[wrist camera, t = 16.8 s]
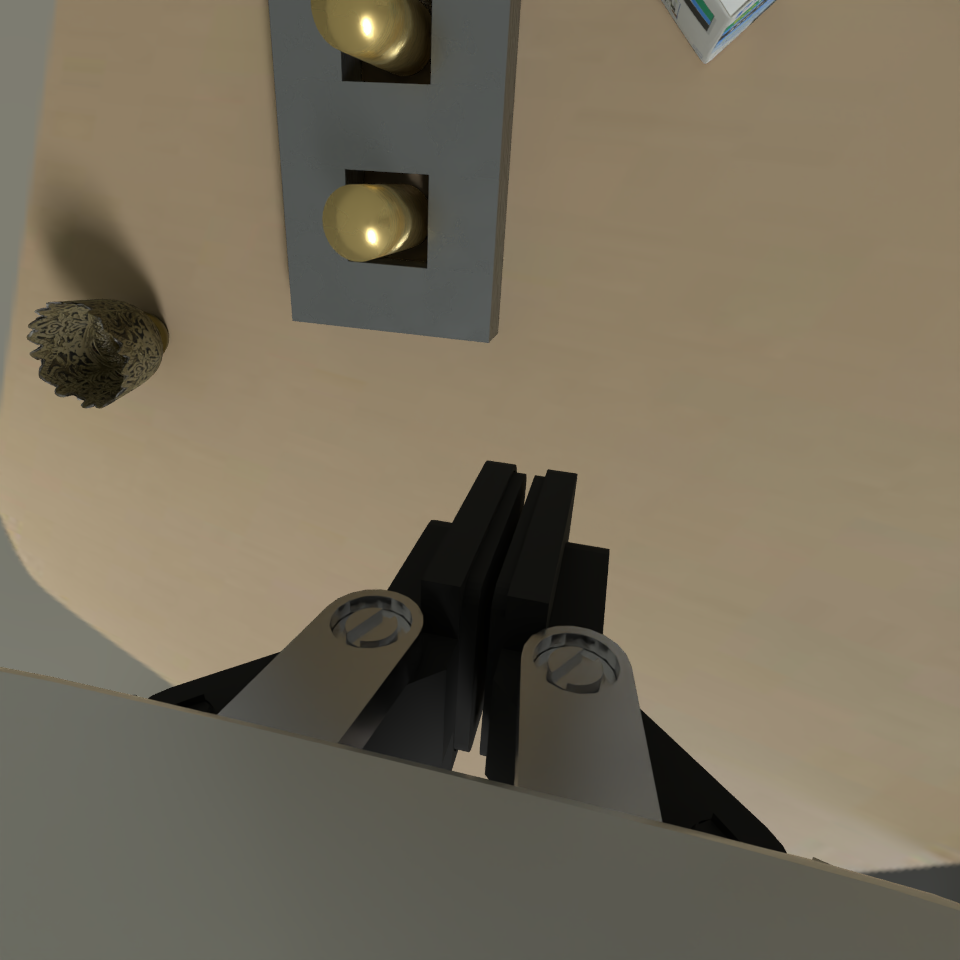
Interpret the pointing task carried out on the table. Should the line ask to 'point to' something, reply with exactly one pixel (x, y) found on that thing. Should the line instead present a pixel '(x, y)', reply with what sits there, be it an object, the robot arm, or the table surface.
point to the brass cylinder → (375, 220)
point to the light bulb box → (714, 21)
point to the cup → (97, 348)
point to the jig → (400, 169)
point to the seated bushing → (378, 31)
